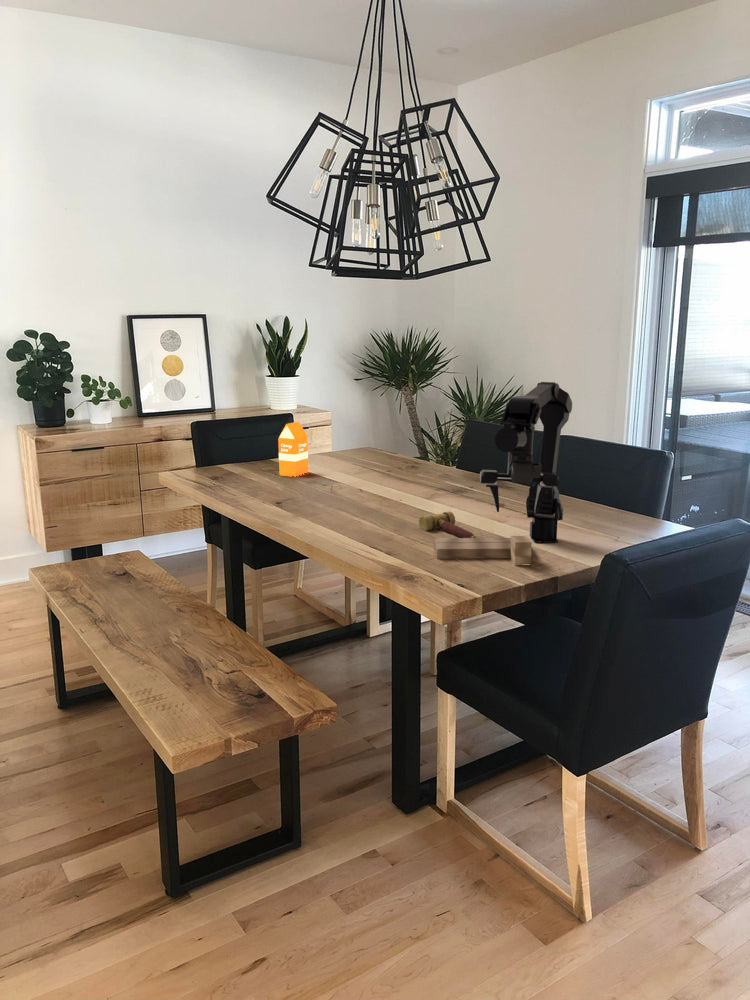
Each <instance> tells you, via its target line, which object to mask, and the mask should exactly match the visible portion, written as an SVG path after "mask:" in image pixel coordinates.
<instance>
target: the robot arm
mask: <svg viewBox="0 0 750 1000" xmlns="http://www.w3.org/2000/svg"><path fill="white" fill-rule="evenodd" d="M572 410H573V400H572V398H571V397H570V394H569V392H567V391H565V390H564V389H562V388H561V387H560V385H559V384H558V382H555V381H554V382H553V381H540V382H538V383H537V385H536V386H535V387H534V388H533V389H532V390H530V391H528V392H527V393H526V394H525V395H516V396H512V397H510V399H509V400H508V401H507V402H506V406H505V408H504V412H503V414H502V418H501V420H500V426H503V428H500V429H499V430H498V431H497V433H496V435H495V437H494V444H495V446H496V448H497V449H498V451H501V452H503V453H508V455H507V456H508V457H507V470H506V471H507V472H506V473H500V472H499V473H498V471H497V470H496V469H482V470H480V472H479V482H480V484H484V485H485V487H486V488H489V490H490V491H491V494H492V498H493V502H494V505H495V508H496V512H497V513H500V499H499V498H500V497H499V496H500V495H499V485H498V482H512V483H514V484H521V483H523V484H527V485H528V484H529V485H530V484H532V483H534V484H532V485H530V487H529V489H528V496H527V497H526V501H525V504H526V505H525V506H526V507H525V508H526V514H527V515H526V517H527V518H531V521H530V522H529V537H530V538H531V539H532V541H533V543H559V540H558V538H557V537H558V521H563V520H564V507H563V505H562V502H561V499H560V491H559V489H558V487H559V486H560V477H559V476H558V474H557V473H556V472H557V465H558V458H559V448H560V440H561V433H562V429H563V428H564V426H565V425H566V423H567V422H569V420H570V419H569V417H570V414H571V413H572ZM539 420H540V422H541V424H542V426H543V429H542V439H541V445H540V452H539V462H533V447H534V435H535V434H534V432H535V430H536V427H535V425H537V423H538V422H539Z"/></svg>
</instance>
